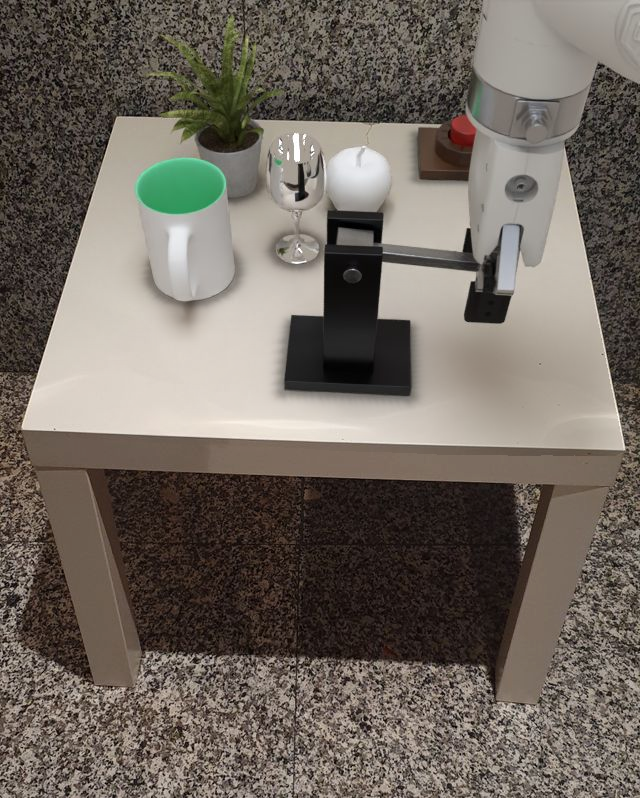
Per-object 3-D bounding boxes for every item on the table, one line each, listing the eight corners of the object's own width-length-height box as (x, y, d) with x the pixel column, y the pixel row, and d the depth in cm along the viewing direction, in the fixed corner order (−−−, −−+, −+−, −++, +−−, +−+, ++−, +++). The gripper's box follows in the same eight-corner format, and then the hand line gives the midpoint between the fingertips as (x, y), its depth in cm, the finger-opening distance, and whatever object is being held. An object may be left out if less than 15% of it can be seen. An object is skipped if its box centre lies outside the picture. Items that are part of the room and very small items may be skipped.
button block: (504, 138, 96) (508, 115, 94) (511, 181, 92) (516, 158, 89) (417, 135, 97) (419, 113, 94) (419, 179, 92) (422, 156, 89)
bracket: (409, 328, 78) (425, 201, 66) (409, 396, 73) (427, 271, 61) (291, 323, 78) (287, 195, 67) (284, 390, 73) (278, 264, 62)
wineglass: (335, 241, 85) (338, 140, 76) (309, 275, 82) (307, 175, 73) (286, 223, 87) (283, 122, 78) (258, 257, 84) (251, 155, 74)
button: (481, 128, 93) (483, 115, 92) (484, 148, 91) (486, 134, 90) (449, 128, 93) (450, 114, 92) (450, 147, 91) (452, 133, 90)
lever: (493, 254, 68) (501, 231, 67) (498, 299, 65) (506, 277, 63) (335, 237, 68) (339, 214, 66) (332, 282, 65) (335, 259, 63)
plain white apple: (347, 238, 86) (349, 174, 79) (311, 200, 89) (311, 136, 83) (403, 215, 88) (410, 151, 82) (366, 179, 92) (369, 115, 85)
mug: (236, 328, 78) (226, 243, 70) (149, 333, 78) (129, 247, 69) (234, 242, 85) (225, 155, 77) (154, 245, 85) (137, 159, 77)
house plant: (170, 138, 96) (147, -3, 83) (290, 136, 97) (286, -5, 84) (159, 219, 87) (132, 75, 75) (291, 217, 88) (287, 73, 75)
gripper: (605, 179, 49) (538, 376, 63) (568, 27, 59) (518, 226, 74) (476, 173, 49) (438, 371, 63) (462, 23, 59) (432, 222, 74)
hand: (481, 291), depth 68 cm, fingers closed on lever, 5 cm apart
